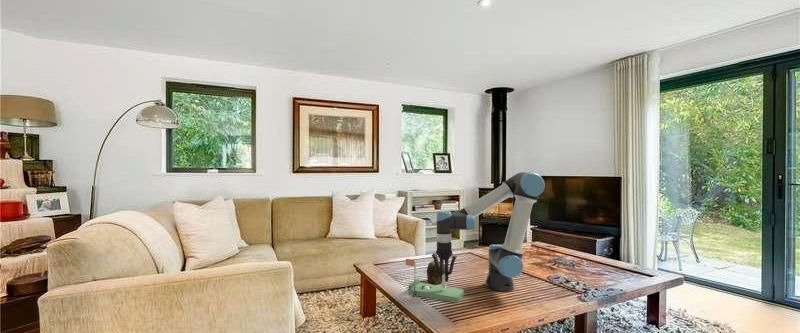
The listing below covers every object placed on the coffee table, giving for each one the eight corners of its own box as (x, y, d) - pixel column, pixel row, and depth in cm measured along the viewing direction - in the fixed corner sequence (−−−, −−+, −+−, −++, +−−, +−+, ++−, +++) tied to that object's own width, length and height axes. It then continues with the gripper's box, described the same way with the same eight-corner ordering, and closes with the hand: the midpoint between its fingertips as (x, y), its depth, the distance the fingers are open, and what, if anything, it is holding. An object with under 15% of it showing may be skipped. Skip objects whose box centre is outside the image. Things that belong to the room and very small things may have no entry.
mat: (464, 294, 171) (464, 285, 171) (458, 302, 160) (458, 293, 160) (417, 286, 182) (417, 278, 182) (408, 294, 171) (408, 285, 171)
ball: (431, 285, 174) (425, 284, 175) (429, 288, 170) (422, 286, 172) (430, 292, 174) (424, 290, 175) (428, 294, 170) (421, 293, 172)
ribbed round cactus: (445, 286, 183) (445, 264, 183) (425, 284, 186) (425, 263, 186) (446, 279, 194) (446, 259, 194) (427, 278, 196) (427, 258, 196)
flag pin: (417, 295, 168) (418, 259, 169) (416, 297, 166) (416, 260, 166) (406, 293, 171) (406, 257, 171) (404, 295, 169) (404, 259, 169)
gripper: (458, 241, 170) (458, 287, 170) (434, 238, 176) (434, 283, 176) (454, 243, 164) (454, 291, 163) (429, 241, 169) (429, 288, 169)
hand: (444, 287), depth 169 cm, fingers closed
